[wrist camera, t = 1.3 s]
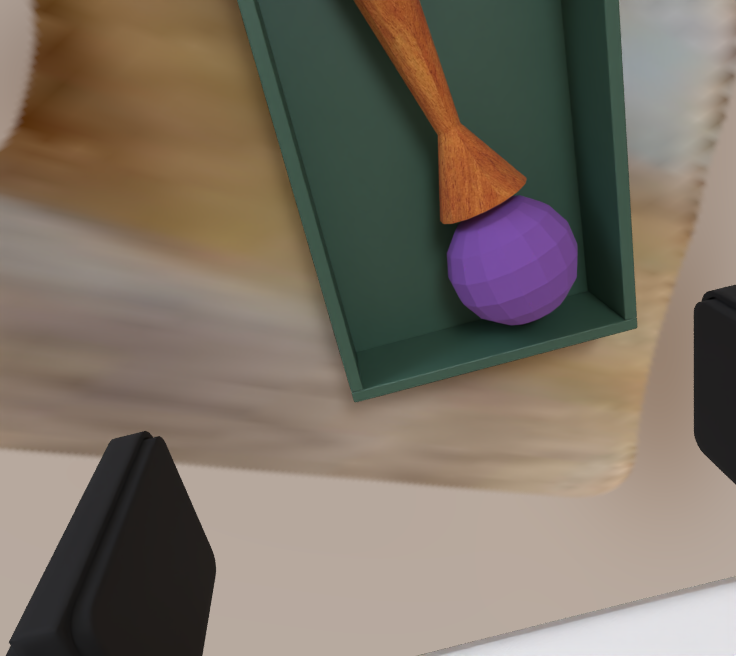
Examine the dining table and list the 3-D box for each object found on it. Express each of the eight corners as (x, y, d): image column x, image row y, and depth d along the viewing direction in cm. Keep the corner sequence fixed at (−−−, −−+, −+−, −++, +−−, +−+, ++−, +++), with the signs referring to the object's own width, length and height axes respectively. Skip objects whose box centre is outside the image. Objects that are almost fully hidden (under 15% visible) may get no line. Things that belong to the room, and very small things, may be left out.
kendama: (422, -202, 21) (624, 292, 27) (378, -122, 26) (554, 271, 33) (270, -118, 20) (512, 363, 27) (259, -56, 26) (461, 330, 32)
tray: (206, -131, 24) (187, -170, 20) (551, -222, 24) (603, -280, 20) (347, 360, 34) (354, 403, 30) (595, 295, 34) (637, 328, 30)
